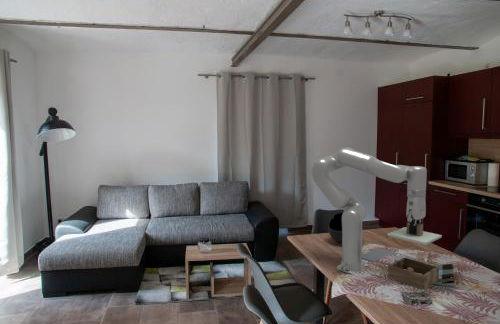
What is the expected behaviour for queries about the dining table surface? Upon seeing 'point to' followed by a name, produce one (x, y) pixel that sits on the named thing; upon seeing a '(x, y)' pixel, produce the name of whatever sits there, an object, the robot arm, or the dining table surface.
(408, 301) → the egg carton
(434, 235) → the lid
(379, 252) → the mat
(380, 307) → the dining table surface
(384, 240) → the dining table surface
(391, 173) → the robot arm
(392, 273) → the box
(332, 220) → the coal bowl
